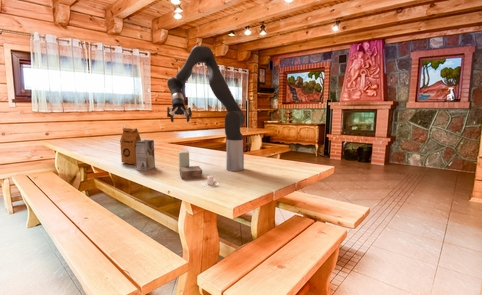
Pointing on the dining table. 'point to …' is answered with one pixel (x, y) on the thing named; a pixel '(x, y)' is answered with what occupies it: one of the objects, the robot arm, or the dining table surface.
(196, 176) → the walnut plinth
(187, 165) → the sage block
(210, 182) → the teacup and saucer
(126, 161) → the coffee package
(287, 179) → the dining table surface
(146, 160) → the coffee box
